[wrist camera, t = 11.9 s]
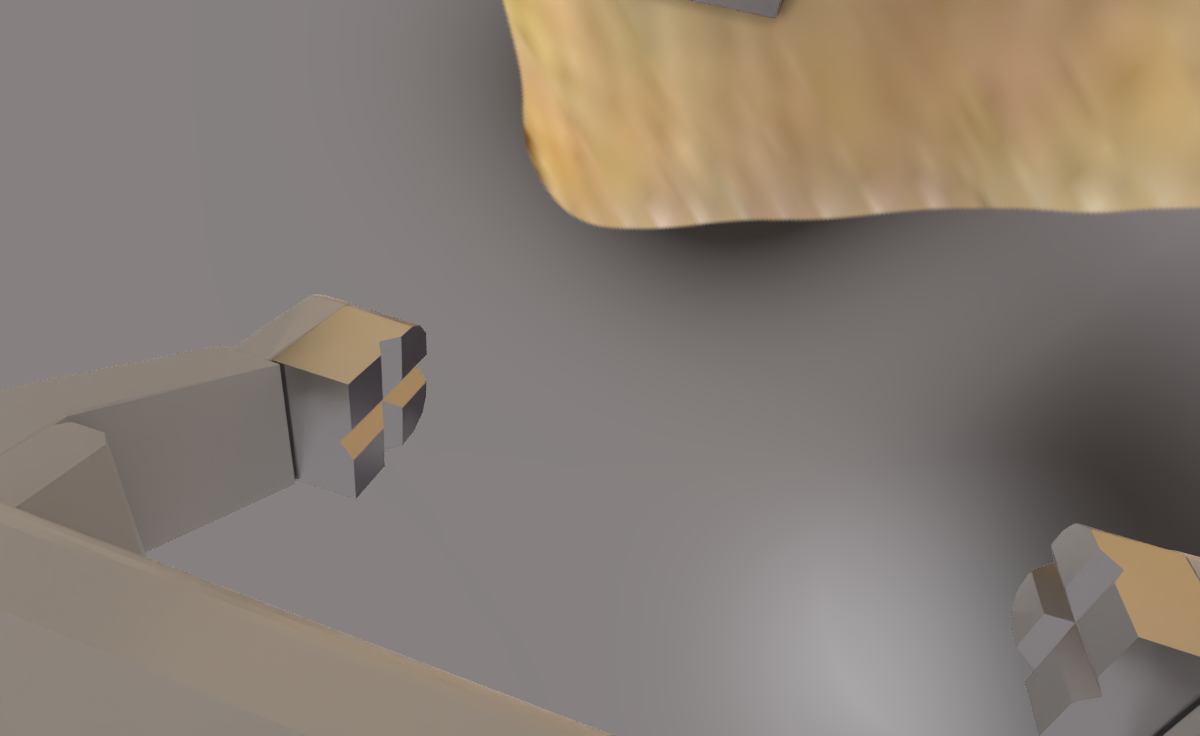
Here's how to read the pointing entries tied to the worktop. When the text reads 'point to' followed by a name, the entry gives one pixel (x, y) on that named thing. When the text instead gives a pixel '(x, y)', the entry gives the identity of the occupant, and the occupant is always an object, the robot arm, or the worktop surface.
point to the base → (749, 6)
